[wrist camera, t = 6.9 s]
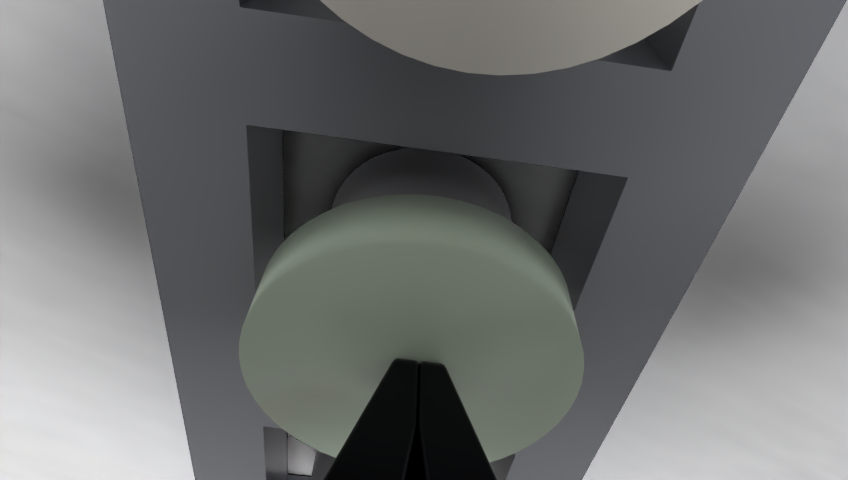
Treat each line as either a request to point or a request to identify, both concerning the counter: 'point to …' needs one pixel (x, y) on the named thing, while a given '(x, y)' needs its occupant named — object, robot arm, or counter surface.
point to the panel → (453, 133)
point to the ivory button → (508, 30)
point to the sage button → (413, 307)
